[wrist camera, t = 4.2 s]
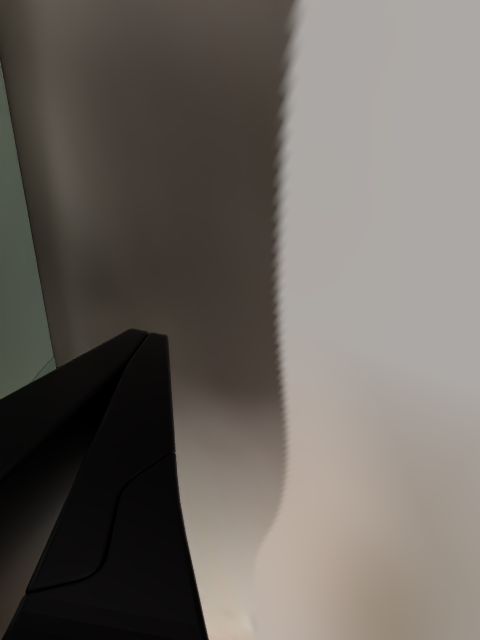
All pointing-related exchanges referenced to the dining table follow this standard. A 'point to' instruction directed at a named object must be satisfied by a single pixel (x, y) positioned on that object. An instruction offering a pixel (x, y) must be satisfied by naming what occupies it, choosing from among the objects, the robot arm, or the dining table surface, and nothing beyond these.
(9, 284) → the leg bar
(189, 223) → the dining table surface
